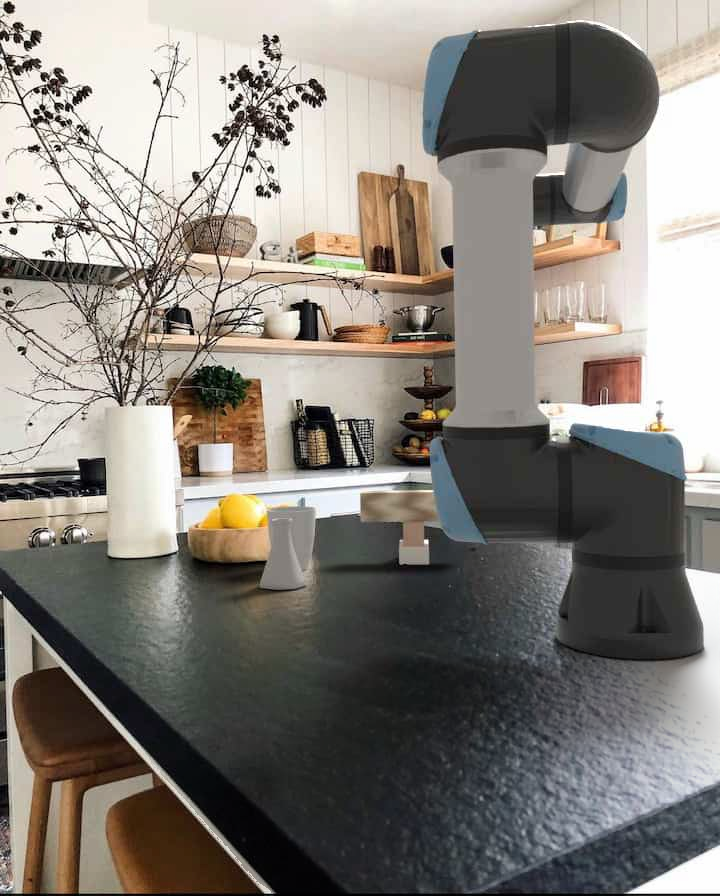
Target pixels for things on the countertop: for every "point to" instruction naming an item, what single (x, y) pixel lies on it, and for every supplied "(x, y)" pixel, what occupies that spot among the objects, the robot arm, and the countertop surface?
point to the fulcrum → (413, 544)
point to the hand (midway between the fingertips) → (503, 408)
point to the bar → (398, 506)
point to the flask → (282, 560)
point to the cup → (297, 530)
